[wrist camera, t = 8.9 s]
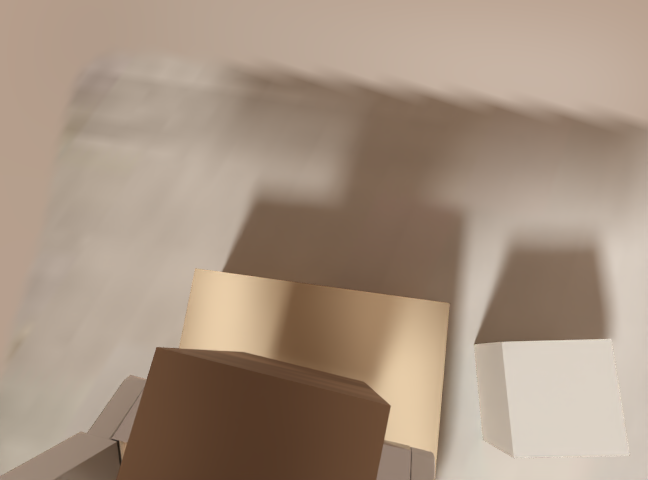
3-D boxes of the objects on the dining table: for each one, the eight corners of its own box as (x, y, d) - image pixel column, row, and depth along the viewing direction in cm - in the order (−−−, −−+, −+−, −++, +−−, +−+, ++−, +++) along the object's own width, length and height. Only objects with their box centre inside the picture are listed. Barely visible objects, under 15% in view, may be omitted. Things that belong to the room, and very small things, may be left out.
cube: (564, 342, 22) (611, 338, 18) (576, 437, 21) (629, 455, 17) (473, 344, 22) (501, 341, 18) (482, 439, 21) (513, 458, 17)
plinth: (431, 312, 23) (449, 303, 19) (409, 552, 21) (424, 597, 17) (219, 283, 24) (195, 268, 20) (175, 512, 21) (138, 547, 17)
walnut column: (363, 381, 16) (390, 405, 8) (335, 515, 15) (335, 688, 7) (243, 351, 16) (156, 347, 8) (208, 481, 15) (76, 612, 7)
